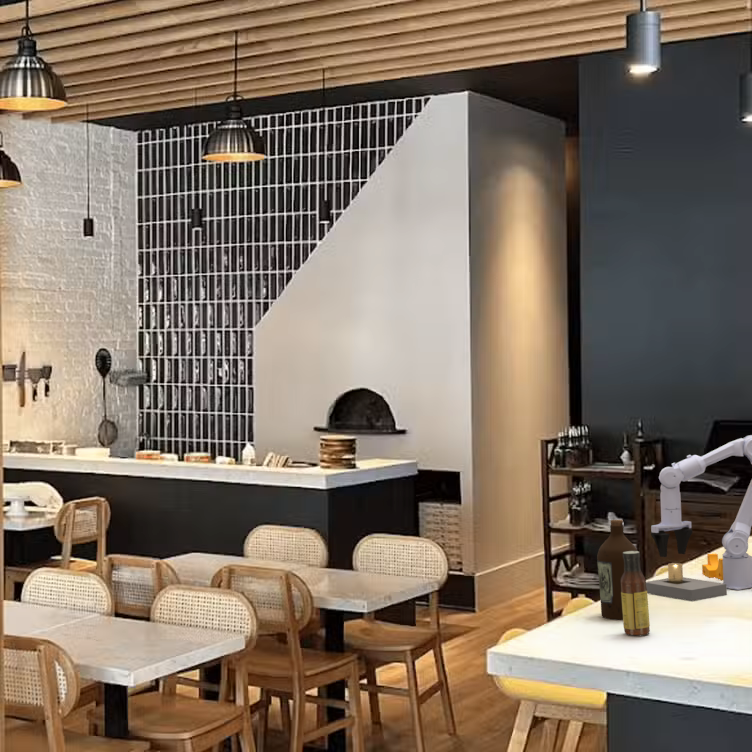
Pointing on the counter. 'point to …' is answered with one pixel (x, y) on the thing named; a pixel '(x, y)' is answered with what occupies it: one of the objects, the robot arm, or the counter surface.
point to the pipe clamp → (713, 567)
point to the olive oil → (612, 570)
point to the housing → (686, 589)
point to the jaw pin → (675, 573)
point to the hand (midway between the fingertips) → (672, 555)
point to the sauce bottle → (634, 596)
